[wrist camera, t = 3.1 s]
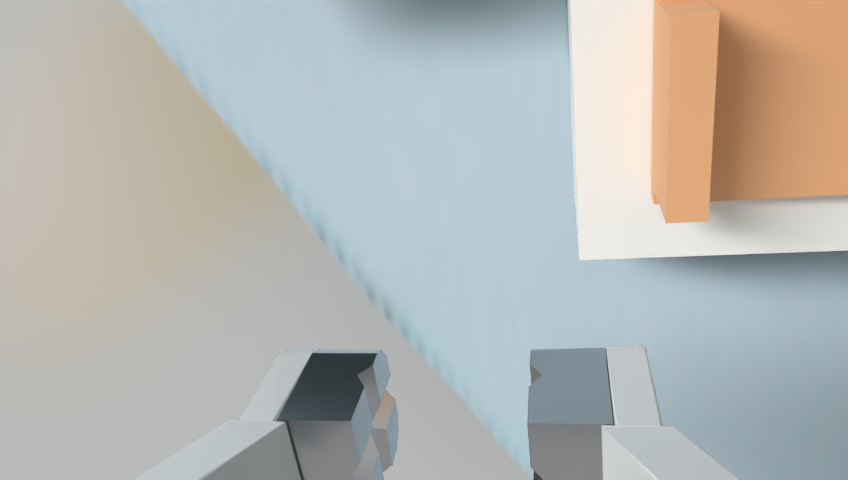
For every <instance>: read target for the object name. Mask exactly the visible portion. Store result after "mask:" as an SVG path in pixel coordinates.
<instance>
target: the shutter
mask: <svg viewBox="0 0 848 480" xmlns="http://www.w3.org/2000/svg"><path fill="white" fill-rule="evenodd" d="M846 194H848V0H654V20H653V90H652V160H651V197H652V200H653V203H654V204H659V205H660V208H661V211H662V214H663V217H664V220H665V222H666V223H686V222H707V221H708V220H709V202H711V201H730V200H750V199H769V198H788V197H808V196H827V195H846Z"/></svg>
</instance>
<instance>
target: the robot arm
mask: <svg viewBox="0 0 848 480" xmlns="http://www.w3.org/2000/svg"><path fill="white" fill-rule="evenodd" d="M530 372H531V385H530V386H529V396H528V423H527V424H528V437H529V451H530V464H531V468H532V469H533V470H534V479H533V480H740V479H738V478H737V477H736V476H735V475H734V474H732V473H731V472H730V471H729V470H727V469H726V468H725V467H724V466H723V465H721V464H720V463H719V462H718V461H716V460H715V459H714V458H713V457H711V456H710V455H709V454H708V453H707V452H705V451H704V450H703V449H702V448H700V447H699V446H698V445H697V444H696V443H694V442H693V441H692V440H691V439H689V438H688V437H687V436H686V435H684V434H683V433H682V432H681V431H680V430H678V429H677V428H676V427H669V426H663V425H662V420H661V415H660V411H659V406H658V401H657V397H656V392H655V387H654V383H653V378H652V373H651V369H650V364H649V359H648V355H647V350H646V348H645V347H644V346H643V345H639V346H615V347H605V348H574V349H532V350H531V355H530ZM389 378H390V370H389V365H388V361H387V356H386V355H385V353H384V352H383V351H382V350H314V349H308V350H307V349H306V350H285V351H283V352H281V353H280V354H279V355H278V356H277V358H276V360H275V361H274V363H273V364H272V366H271V368H270V370H269V371H268V373H267V374H266V376H265V378H264V379H263V381H262V383H261V384H260V386H259V387H258V389H257V391H256V392H255V394H254V396H253V398H252V399H251V401H250V402H249V404H248V405H247V407H246V409H245V411H244V412H243V414H242V415H241V417H240V419H239V420H238V421H227V422H226V423H224V424H223V425H221V426H219V427H218V428H216V429H214V430H213V431H211V432H210V433H208V434H206V435H205V436H203V437H202V438H200V439H198V440H197V441H195V442H193V443H192V444H190V445H189V446H187V447H185V448H184V449H182V450H181V451H179V452H177V453H176V454H174V455H173V456H171V457H169V458H168V459H166V460H164V461H163V462H161V463H160V464H158V465H156V466H155V467H153V468H151V469H150V470H148V471H147V472H145V473H143V474H142V475H140V476H139V477H137V478H135V479H134V480H384V477H383V472H384V471H385V470H386V469H388V468H389V467H390V466H391V465H393V461H394V457H395V453H396V450H397V440H398V413H397V407H396V402H395V399H394V398H393V397H392V396H391V395H390V394H389V393H388V392H387V391H386V387H387V384H388V380H389Z"/></svg>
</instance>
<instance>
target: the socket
mask: <svg viewBox="0 0 848 480" xmlns="http://www.w3.org/2000/svg"><path fill="white" fill-rule="evenodd" d="M567 9H568V35H569V62H570V88H571V115H572V141H573V168H574V194H575V209H576V222H577V235H578V248H579V260H599V259H627V258H654V257H682V256H710V255H737V254H765V253H792V252H820V251H847V250H848V194H846V195H827V196H808V197H788V198H769V199H750V200H730V201H711V202H709V220H708V221H707V222H686V223H666V222H665V220H664V217H663V214H662V211H661V208H660V205H659V204H654V203H653V200H652V197H651V160H652V90H653V20H654V0H567Z"/></svg>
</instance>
